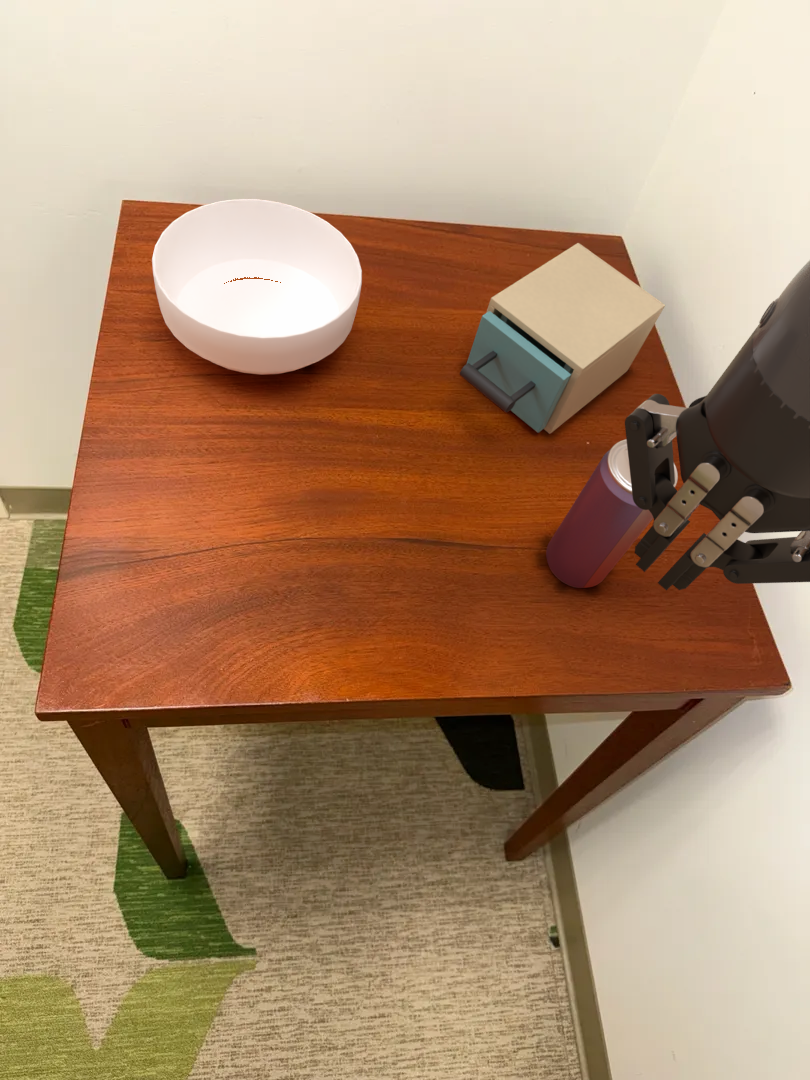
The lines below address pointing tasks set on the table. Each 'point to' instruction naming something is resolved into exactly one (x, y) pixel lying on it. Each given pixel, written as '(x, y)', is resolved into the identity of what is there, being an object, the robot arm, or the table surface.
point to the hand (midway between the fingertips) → (658, 568)
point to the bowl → (256, 285)
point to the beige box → (581, 321)
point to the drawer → (515, 371)
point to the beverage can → (598, 524)
